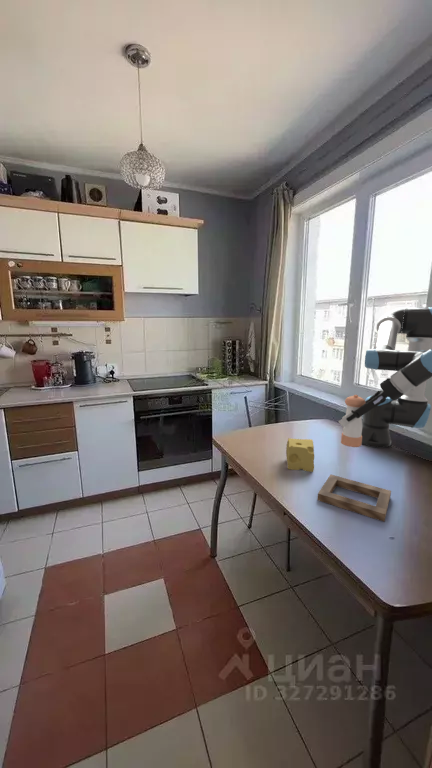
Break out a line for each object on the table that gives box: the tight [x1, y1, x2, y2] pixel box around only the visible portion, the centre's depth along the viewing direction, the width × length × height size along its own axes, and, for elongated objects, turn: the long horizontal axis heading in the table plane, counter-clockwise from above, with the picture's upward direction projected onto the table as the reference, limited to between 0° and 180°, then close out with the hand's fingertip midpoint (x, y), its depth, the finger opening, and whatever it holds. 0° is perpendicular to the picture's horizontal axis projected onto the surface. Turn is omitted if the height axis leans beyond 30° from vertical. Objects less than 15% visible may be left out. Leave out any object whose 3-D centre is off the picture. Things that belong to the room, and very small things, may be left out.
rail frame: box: [317, 474, 392, 523], centre depth 106 cm, size 20×16×2 cm
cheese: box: [285, 437, 315, 473], centre depth 129 cm, size 10×11×10 cm
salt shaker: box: [340, 394, 366, 448], centre depth 119 cm, size 7×7×19 cm
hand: (342, 422), depth 121 cm, fingers closed on salt shaker, 5 cm apart
